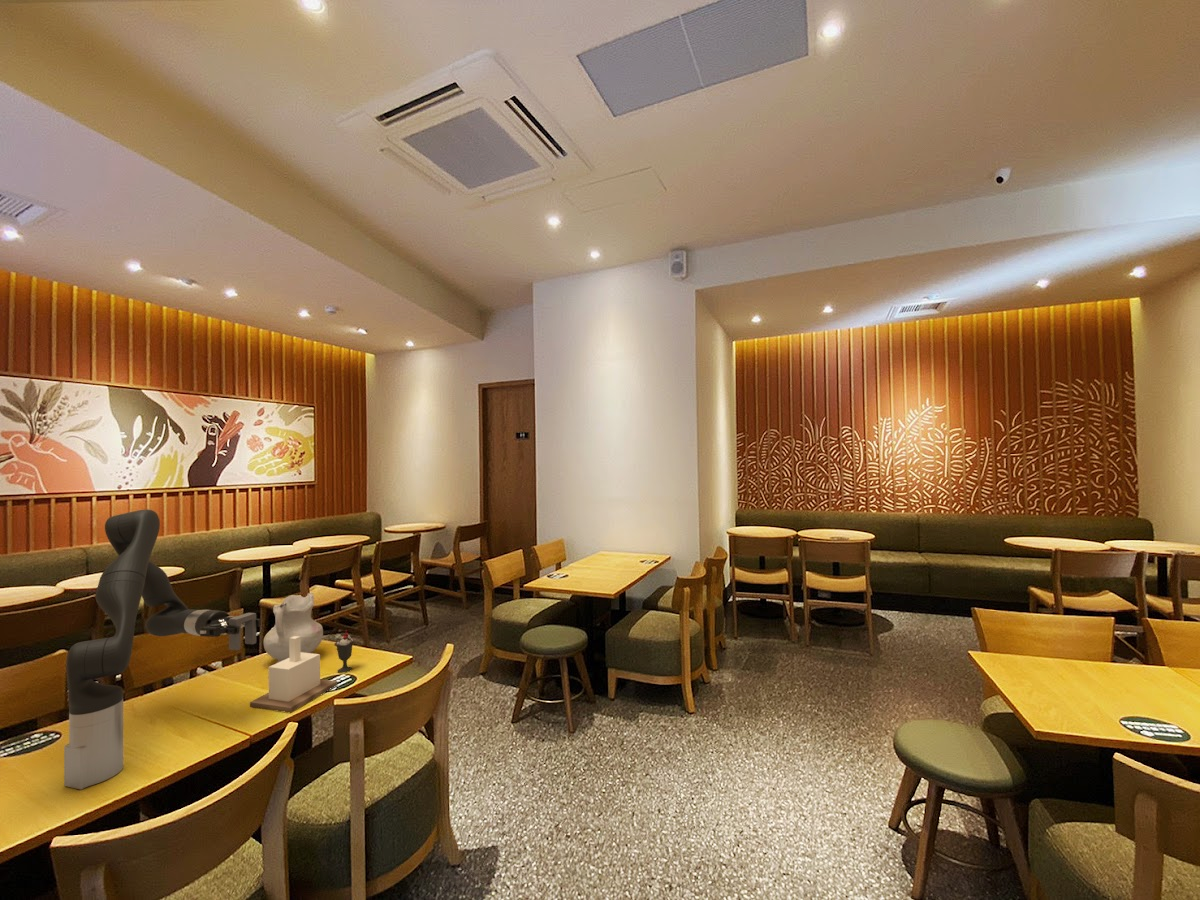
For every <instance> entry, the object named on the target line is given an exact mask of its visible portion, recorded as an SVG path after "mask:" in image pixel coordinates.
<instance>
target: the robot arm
mask: <svg viewBox="0 0 1200 900" xmlns="http://www.w3.org/2000/svg"><path fill="white" fill-rule="evenodd" d="M160 523H161V521H160V518H159V515H158V513H157V512H155V510H152V509H140V510H134V511H131V512H125V513H122V514H121V513H120V514H116V515H113V516H110V517H108V518H107V519H106V520H105V524H104V531H105V535H106V538H107V539H108V541H109V543H110V545H111V546H112V548H113V549H114V550H115V552H116V554H117V555H118V556H117V557H116V558H115V559H114V560H112V562H111V563H110V564H109V565H107V567H106V568H105V570H103V572H102V574H101V576H100V577H99V580H98V584H97V587H96V591H95V594H94V596H95V601H96V603H97V605H98V606H99V607H100V609H101V610H102V611H103V612H104V614H105V615H106V616H108V618H109V619H110V620H111V622H112V624H113V626H114V628H115V634H114V635H113V636H110V637H104V638H99V639H98V638H97V639H90V640H89V639H88V640H84V641H83V640H82V641H79V642H77V643H74V644H73V645H71V647H70V648H69V651H68V653H67V656H66V665H65V666H66V667H65V669H66V670H65V671H66V680H67V682H66V683H67V697H68V698H67V700H68V710H69V711H68V725H69V726H68V743H67V744H65V745H64V746H63V750H64V751H63V760H64V761H63V765H64V766H63V779H64V781H63V783H64V784H63V786H65V787H69V788H72V789H76V790H83V789H85V788H88V787H90V786H94V785H96V784H99V783H102V782H105V781H107V780H109V779H111V778H113V777H115V776H116V775H118V774H119V773H120V772H121V771H122V770H123V768H124V689H123V688H122V686H119V685H114V684H104V683H101V682H97V681H94V679H100V678H106V677H109V676H114V675H115V676H116V675H119V674H121V673H124V672H125V671H126V670H127V668H128V667H129V664H130V661H131V657H132V652H133V647H134V646H133V645H134V635H135V628H136V621H137V615H138V611H139V608H140V604H141V599H143V602H144V604H145V605H146V607H149V608H152V607H153V608H154V607H159V606H161V605H165V606H166V607H165V608H164V609H161V610H160V611H157V612H156V613H154V614H152V615H150V617H148V618H147V619H146V621H145V630H146V632H147V633H149V634H150V635H152V636H156V637H167V636H168V637H169V636H173V635H174V636H175V635H179V634H189V635H193V636H199V637H206V638H207V637H209V638H210V637H211V638H217V637H221V635H223V636H224V635H229V634H239V632H240V628H239V626H231V625H229V619H230V618H233V617H236V616H237V615H236V616H234V615H229V613H227V611H224V610H217V609H216V610H214V609H191V608H190V609H189V607H188V606H187V605H186V604H185V603H184V602H183V601H182V600H181V599H180V598H179V597H178V596H177V594H176V593H175V592H174V589H173V587H172V584H171V582H170V579H169V577H168V575H167V573H166V572H165V571H164V570H163V569H162V568H161V567H159V566H158V565H156V564H155V563H153V562H152V561H150V559H151V555H152V553H153V549H154V547H155V545H156V542H157V539H158V536H159V534H160V533H159V532H160V528H161V527H160V526H161V524H160ZM243 614H246V613H245V612H243V613H242V614H241V615H243ZM261 623H262V621H261V619H260V618H256V628H258V627H261V625H262V624H261ZM242 628H245V622H243V623H241V629H242Z"/></svg>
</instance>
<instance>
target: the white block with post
mask: <svg viewBox="0 0 1200 900" xmlns="http://www.w3.org/2000/svg"><path fill="white" fill-rule="evenodd" d="M320 679H321V654H319V653H313V652H311V653H304V652H301V646H300V637H299V636H294V637H291V638H289V658H287V659H285V660H283V661H281V662H279V663H275V664H272V665H270V666H268V693H269V699H274V700H281V701H288V702H289V701H291V700H293V699H294V698H296V697H298V696H300V695H302V694H303V693H305V692H307V691H309V690H311V689H312V688H314V687H316V686H318V685H320Z"/></svg>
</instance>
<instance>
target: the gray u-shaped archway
mask: <svg viewBox="0 0 1200 900" xmlns="http://www.w3.org/2000/svg"><path fill="white" fill-rule="evenodd" d="M242 614H243V615H242ZM242 614H240V615H236V617H233V618H230V619H229V625H231V626H239V628H240V632H239V634H228V650H229V651H239V650H242V636H241V635H242V628H241V623H243V622H245V626H244V644H245V645H254V644H257V627H256V619H257V612H256V613H255V612H246V613H245V614H244V613H242Z"/></svg>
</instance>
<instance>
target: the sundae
mask: <svg viewBox="0 0 1200 900" xmlns="http://www.w3.org/2000/svg"><path fill="white" fill-rule="evenodd" d="M347 631H348V630H347V629H346V630H345V632H344V633H343V634H342V635H341V636H340V638H339V640H338V641H335V643H334V644H333V645H334V647H336V649H337V656H338V659H339V660H340V661H341V662H342V667H340V668H339V669H337V671H338V672H337V673H339V672H345V673H348V672H347V671H349V672H351V671H352V670H353V669H354V667H353V666H348V659H350V658H351V656H352V653H353V652H352V650H353V645H354V643H355V642H356V640H355V639H354V638H352V637H351V635H350V634H349V633H348V632H347ZM350 670H351V671H350Z"/></svg>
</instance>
